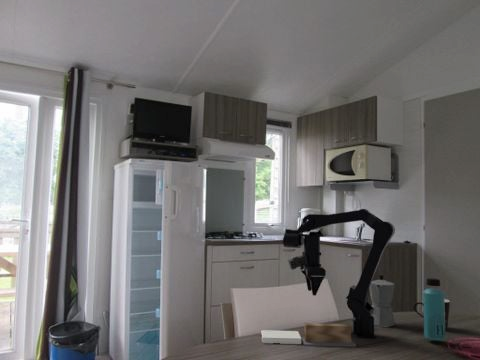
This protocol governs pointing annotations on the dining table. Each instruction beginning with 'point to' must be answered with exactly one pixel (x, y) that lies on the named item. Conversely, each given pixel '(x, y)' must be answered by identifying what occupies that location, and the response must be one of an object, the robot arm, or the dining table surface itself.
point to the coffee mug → (447, 305)
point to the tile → (281, 337)
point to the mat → (327, 343)
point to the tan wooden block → (327, 333)
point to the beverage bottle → (434, 311)
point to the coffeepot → (382, 301)
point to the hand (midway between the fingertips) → (311, 292)
